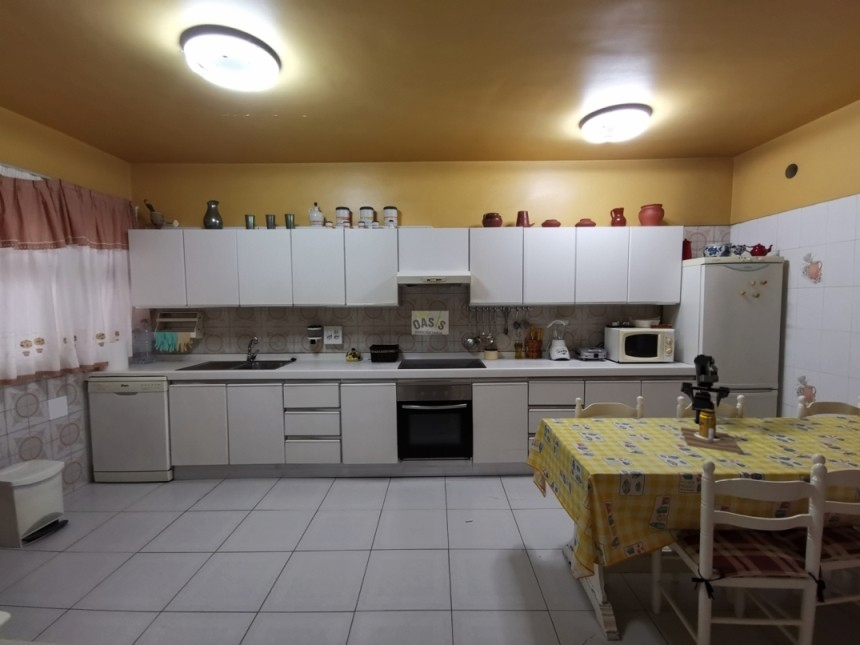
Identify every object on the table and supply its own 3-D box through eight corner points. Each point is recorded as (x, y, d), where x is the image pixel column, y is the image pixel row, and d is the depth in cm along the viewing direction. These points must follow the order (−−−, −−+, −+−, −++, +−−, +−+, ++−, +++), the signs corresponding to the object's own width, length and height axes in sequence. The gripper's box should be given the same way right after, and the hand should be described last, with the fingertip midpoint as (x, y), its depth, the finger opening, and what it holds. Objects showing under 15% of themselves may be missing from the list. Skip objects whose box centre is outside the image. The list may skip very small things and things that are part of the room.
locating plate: (680, 429, 181) (681, 415, 180) (727, 435, 172) (727, 420, 172) (687, 445, 161) (688, 429, 161) (740, 453, 153) (740, 436, 152)
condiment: (694, 433, 172) (695, 407, 171) (713, 433, 172) (714, 407, 171) (704, 438, 165) (706, 412, 164) (724, 439, 164) (726, 412, 164)
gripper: (683, 365, 182) (685, 393, 173) (731, 370, 174) (735, 400, 165) (679, 377, 190) (681, 404, 181) (725, 382, 182) (728, 411, 173)
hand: (705, 405), depth 175 cm, fingers open, 9 cm apart
